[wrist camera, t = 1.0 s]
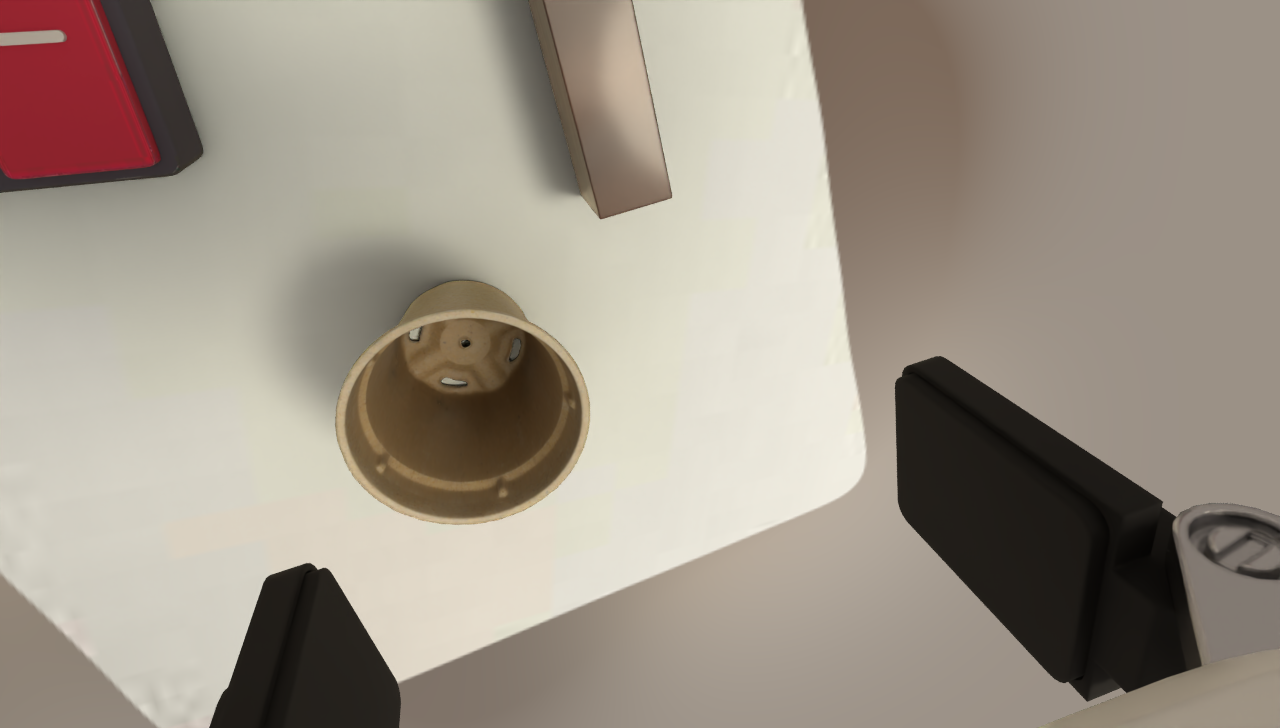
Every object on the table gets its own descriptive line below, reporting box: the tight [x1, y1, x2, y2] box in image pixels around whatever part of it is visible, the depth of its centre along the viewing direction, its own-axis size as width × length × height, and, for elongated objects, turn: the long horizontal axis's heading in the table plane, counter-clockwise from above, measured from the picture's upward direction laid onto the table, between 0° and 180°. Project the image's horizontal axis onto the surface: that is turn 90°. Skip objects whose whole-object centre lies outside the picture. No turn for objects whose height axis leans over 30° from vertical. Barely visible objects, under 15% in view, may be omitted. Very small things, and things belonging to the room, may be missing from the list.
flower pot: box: [335, 281, 590, 525], centre depth 29 cm, size 9×9×9 cm
